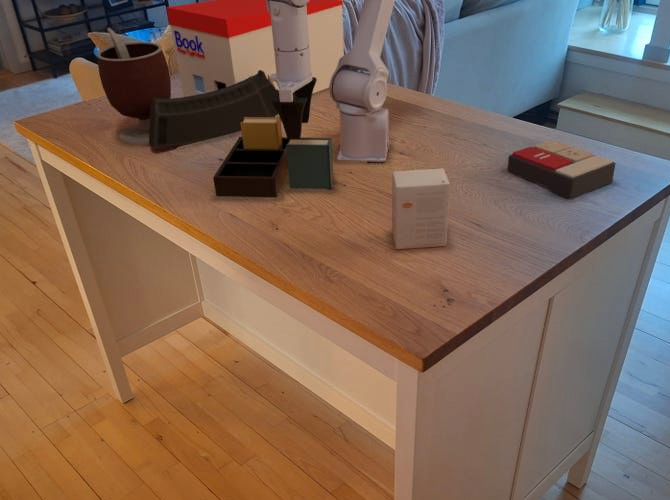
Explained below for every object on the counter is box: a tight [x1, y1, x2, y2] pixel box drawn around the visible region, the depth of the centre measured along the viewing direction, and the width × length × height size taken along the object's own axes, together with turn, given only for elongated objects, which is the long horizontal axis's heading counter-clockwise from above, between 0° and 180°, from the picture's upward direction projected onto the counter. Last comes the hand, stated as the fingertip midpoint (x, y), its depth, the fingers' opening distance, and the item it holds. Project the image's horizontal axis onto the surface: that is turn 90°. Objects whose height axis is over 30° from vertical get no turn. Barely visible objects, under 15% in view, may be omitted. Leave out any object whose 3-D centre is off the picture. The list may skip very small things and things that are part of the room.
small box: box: [391, 167, 451, 250], centre depth 100 cm, size 8×6×10 cm
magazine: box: [149, 70, 279, 150], centre depth 137 cm, size 17×3×30 cm
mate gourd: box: [96, 27, 172, 146], centre depth 137 cm, size 16×14×20 cm
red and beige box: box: [507, 139, 616, 200], centre depth 117 cm, size 11×4×15 cm
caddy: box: [212, 136, 290, 198], centre depth 123 cm, size 11×19×4 cm, turn 172°
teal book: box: [286, 137, 335, 190], centre depth 117 cm, size 8×3×8 cm, turn 82°
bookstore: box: [166, 0, 345, 97], centre depth 155 cm, size 21×35×21 cm, turn 137°
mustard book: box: [240, 116, 283, 149], centre depth 126 cm, size 7×3×8 cm, turn 82°
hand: (298, 130), depth 115 cm, fingers open, 7 cm apart
